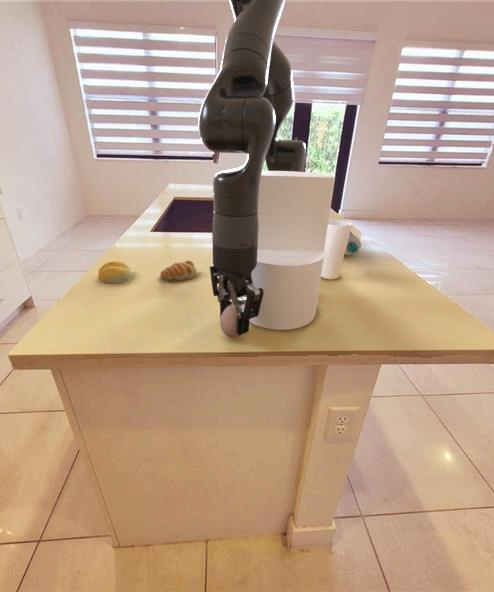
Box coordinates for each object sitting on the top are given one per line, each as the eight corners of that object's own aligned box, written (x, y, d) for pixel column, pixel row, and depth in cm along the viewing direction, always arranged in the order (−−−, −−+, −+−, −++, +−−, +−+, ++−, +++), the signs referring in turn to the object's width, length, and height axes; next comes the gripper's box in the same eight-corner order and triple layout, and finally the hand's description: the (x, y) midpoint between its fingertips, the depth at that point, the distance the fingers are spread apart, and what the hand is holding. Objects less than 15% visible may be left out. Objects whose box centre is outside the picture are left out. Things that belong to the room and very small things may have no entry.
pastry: (167, 285, 79) (166, 271, 78) (156, 277, 84) (154, 263, 82) (199, 276, 85) (198, 263, 83) (186, 269, 89) (185, 256, 88)
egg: (226, 326, 63) (226, 296, 60) (250, 332, 62) (251, 301, 59) (215, 340, 59) (215, 309, 56) (241, 346, 58) (242, 315, 54)
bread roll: (99, 287, 78) (95, 272, 76) (100, 273, 85) (97, 259, 83) (133, 283, 80) (131, 268, 78) (131, 270, 88) (129, 256, 86)
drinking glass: (345, 276, 87) (356, 222, 80) (333, 283, 83) (343, 227, 76) (324, 269, 91) (332, 218, 84) (311, 276, 87) (319, 222, 80)
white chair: (239, 289, 78) (242, 169, 65) (308, 292, 78) (325, 172, 65) (236, 328, 63) (239, 181, 50) (322, 331, 63) (348, 184, 50)
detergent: (313, 235, 120) (328, 257, 98) (317, 217, 117) (334, 235, 95) (346, 239, 121) (369, 262, 99) (351, 221, 118) (376, 240, 95)
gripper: (281, 247, 48) (273, 338, 56) (231, 225, 59) (230, 304, 67) (240, 256, 44) (238, 352, 52) (195, 231, 55) (198, 314, 63)
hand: (233, 325), depth 59 cm, fingers closed on egg, 5 cm apart
